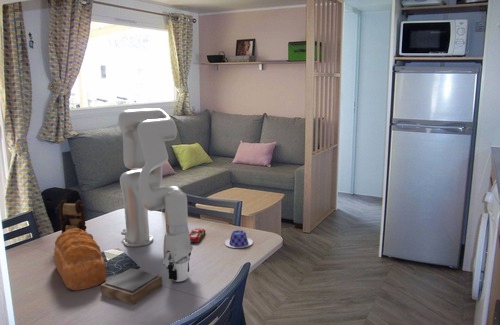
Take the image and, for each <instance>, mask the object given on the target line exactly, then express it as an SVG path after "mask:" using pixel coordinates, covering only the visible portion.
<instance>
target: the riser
mask: <svg viewBox="0 0 500 325" xmlns="http://www.w3.org/2000/svg"><path fill="white" fill-rule="evenodd" d="M162 277H163V276H162V275H158V274H154V273H152V272H148V271H144V270H140V269H138V268H137V269H136V268H133V267H130V268H128V269H127V270H125V271H123V272H122V273H120V274H117V275H116V276H114V277H113V278H111V279H109V280H107V281H104V282H102V283H101V284H100V290H101V296H103V297H104V296H105V297H108V298H110V299H115V300H118V301H121V302H123V303H126V304H129V305H132V306H134V305H136V304H137V303H139V302H140V301H141V300H143V299H145V298H146V297H148V296H149V295H150V294H152V293H154V292H156V290H158V289H159V288H161V287H163V278H162Z"/></svg>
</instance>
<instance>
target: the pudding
mask: <svg viewBox="0 0 500 325" xmlns="http://www.w3.org/2000/svg"><path fill="white" fill-rule="evenodd" d="M224 244H225V246H227V247H229V248H234V249H242V248H247V247H250V246H251V245H253V244H254V240H252V239H251V238H248V236H247V233H246V231H244V230H241V229H240V230H239V229H238V230H237V229H236V230H234V231H232V232H231V234H230V238H228V239H226V240H225V241H224Z"/></svg>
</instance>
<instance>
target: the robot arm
mask: <svg viewBox="0 0 500 325" xmlns="http://www.w3.org/2000/svg"><path fill="white" fill-rule="evenodd" d="M117 121H118V127H119V129H120V132H121V134H122V146H123V147H122V151H123V152H122V154H123V158H122V160H123V164H124V166H125V168H127V169H130V170H127V171H125V172H123V173H122V174H121V175H120V177H119V184H120V188H121V192H122V198H123V206H124V207H123V208H124V219H125V221H124V222H125V228H123V229H122V231H121V233H120V234H121V235H122V236H124V238H123V241H122V243H123V245H125V246H127V247H131V248H132V247H136V248H137V247H144V246H147V245H149V244H152V242H153V241H154V236H153V235H151V234H150V225H149V213H148V212H153V211H155V212H156V211H159V210H164V218H165V233H164V236H163V237H164V239H163V262H162V265H163V266H164V267H165V268H166V269H167V272H168V279H169V280H171V281H173V280H175V281H174V282H176V280H177V270H176V269H175V268H176V263H177V261H179V260H180V259H182V258H184V257H188V273H189V272H190V259H191V254H192V251H193V249H194V247H193V246H192V245H191V243H192V242H190V230H189V221H188V219H189V218H188V197H187V196H188V195H187V194H186V193H185V192H184V191H183V190H182V189H181V188H180V187H179V186H177V185H169V186H168V185H167V186H163V187H161V186H162V184H163V165H164V164H165V163H168V160H169V154H168V150H167V146H166V141H173V140H175V139H176V137H177V135H178V128H177V125H176V123H175V121H174V119H173V118H172V117H171V115H169V114H168V113H167V112H166V111H165V110H164V109H162V108H159V107H156V108H155V107H153V108H152V107H151V108H135V109H133V108H132V109H125V110H122V111H120V113H119V114H118V120H117ZM171 262H172V263H173V266H172V265H171Z"/></svg>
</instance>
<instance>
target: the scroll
mask: <svg viewBox="0 0 500 325" xmlns="http://www.w3.org/2000/svg"><path fill="white" fill-rule="evenodd" d="M57 208H58V211H59V213H58V214H59V215H58V219H59V221H60V222H59V223H60V225H59V227H60V229H61V230H60V231H61V234H62V233H63V232H65V231H66V230H69V229H74V228H79V229H81V230H84V231H86V232H87V226H86V218H87V216H86V215H85V214H86V213H85V205H84V204H83V202H82V200H80V199H78V200H76V201H75V203H68V201H67V200H66V199H63V200H61V201H60V203H59V204H58V205H57ZM64 219H65V220H64ZM68 220H69V221H68ZM61 234H60V235H61ZM88 234H89V235H90V236H91V237H92V238H93V239H94V236H93V235H92V234H91V233H88Z"/></svg>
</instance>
